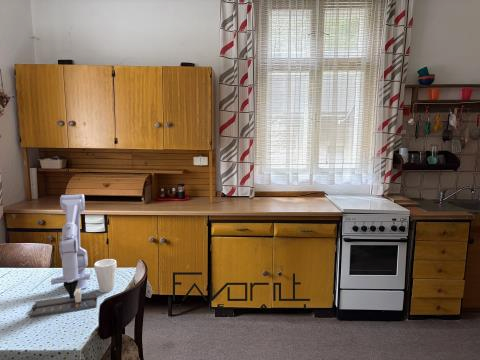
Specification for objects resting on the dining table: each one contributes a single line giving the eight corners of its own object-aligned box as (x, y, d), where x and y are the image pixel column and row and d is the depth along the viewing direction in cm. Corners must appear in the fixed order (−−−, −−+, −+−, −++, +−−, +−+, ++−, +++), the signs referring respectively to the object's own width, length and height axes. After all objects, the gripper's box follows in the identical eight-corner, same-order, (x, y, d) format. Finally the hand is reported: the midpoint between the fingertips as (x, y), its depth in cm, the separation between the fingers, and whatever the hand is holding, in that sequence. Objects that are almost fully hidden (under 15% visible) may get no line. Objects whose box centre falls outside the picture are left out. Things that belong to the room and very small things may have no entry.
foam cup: (94, 295, 151) (92, 267, 150) (97, 286, 160) (95, 260, 158) (116, 292, 154) (115, 265, 152) (118, 284, 163) (117, 258, 161)
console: (36, 303, 143) (35, 299, 143) (97, 294, 152) (97, 290, 152) (30, 318, 132) (29, 313, 132) (96, 307, 141) (96, 302, 140)
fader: (76, 297, 145) (75, 288, 145) (81, 296, 146) (81, 287, 146) (75, 302, 141) (74, 293, 140) (80, 301, 142) (80, 292, 141)
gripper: (48, 273, 134) (51, 305, 136) (88, 268, 140) (90, 299, 141) (51, 266, 141) (53, 297, 143) (89, 262, 146) (91, 291, 148)
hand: (72, 297), depth 142 cm, fingers closed
